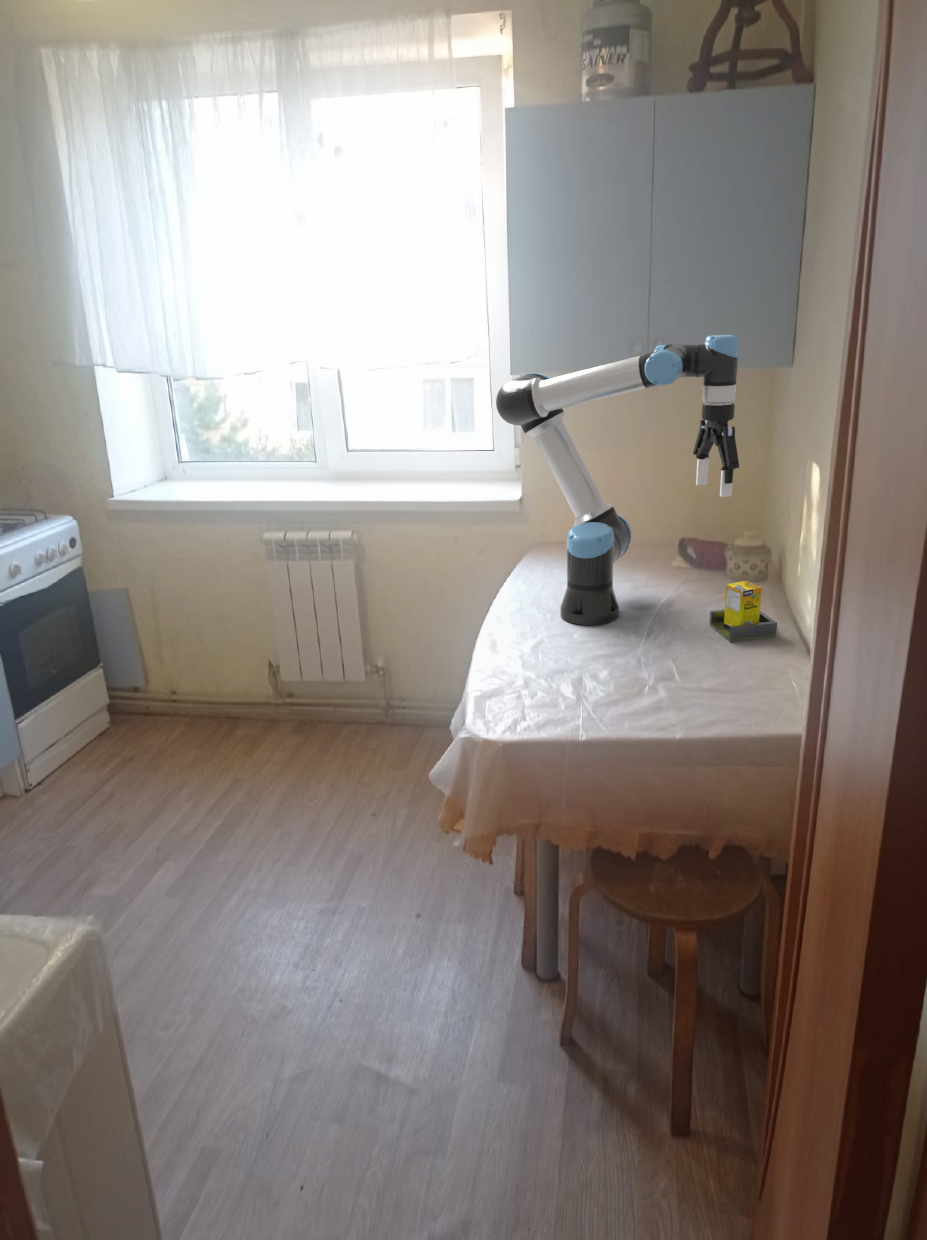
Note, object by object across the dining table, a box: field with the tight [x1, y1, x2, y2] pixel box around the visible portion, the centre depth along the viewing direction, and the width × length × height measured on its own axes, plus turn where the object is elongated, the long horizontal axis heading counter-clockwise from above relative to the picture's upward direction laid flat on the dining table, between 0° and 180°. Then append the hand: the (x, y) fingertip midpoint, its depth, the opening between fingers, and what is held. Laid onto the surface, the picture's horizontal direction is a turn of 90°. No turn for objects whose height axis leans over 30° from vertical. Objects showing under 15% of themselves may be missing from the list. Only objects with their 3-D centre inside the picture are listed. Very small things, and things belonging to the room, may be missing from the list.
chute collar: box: [708, 609, 778, 644], centre depth 214 cm, size 12×12×4 cm
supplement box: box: [724, 580, 763, 628], centre depth 213 cm, size 6×6×11 cm
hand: (713, 490), depth 218 cm, fingers open, 13 cm apart
